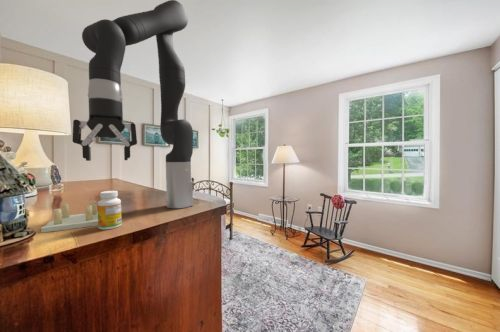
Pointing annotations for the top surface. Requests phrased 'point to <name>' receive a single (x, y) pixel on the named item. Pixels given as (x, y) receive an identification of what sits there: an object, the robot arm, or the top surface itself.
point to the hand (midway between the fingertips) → (107, 160)
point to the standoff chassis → (72, 219)
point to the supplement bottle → (109, 210)
